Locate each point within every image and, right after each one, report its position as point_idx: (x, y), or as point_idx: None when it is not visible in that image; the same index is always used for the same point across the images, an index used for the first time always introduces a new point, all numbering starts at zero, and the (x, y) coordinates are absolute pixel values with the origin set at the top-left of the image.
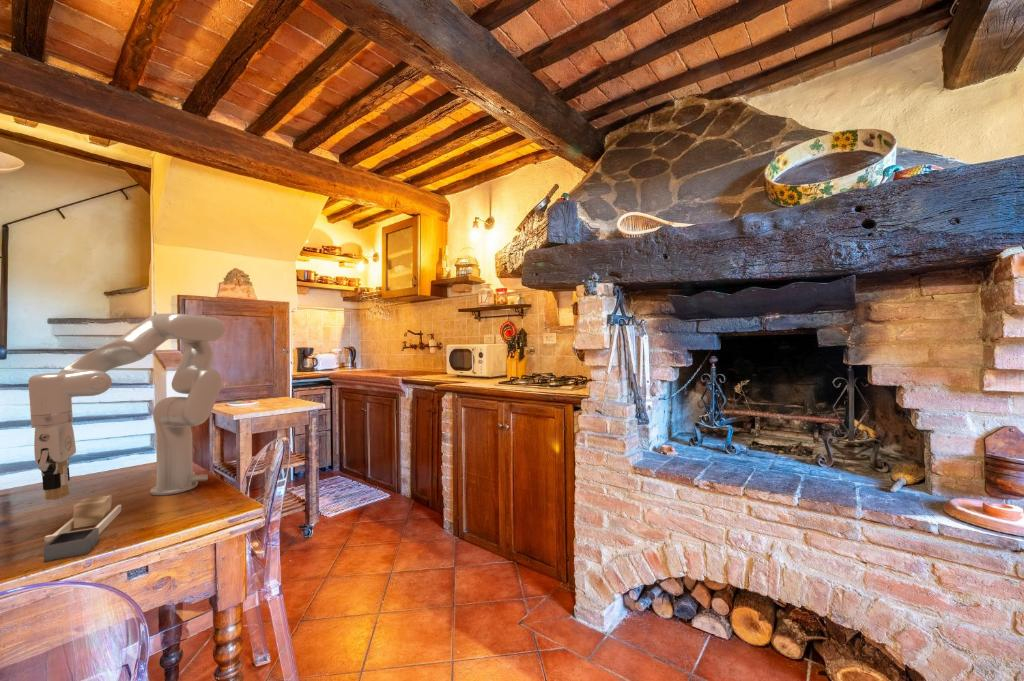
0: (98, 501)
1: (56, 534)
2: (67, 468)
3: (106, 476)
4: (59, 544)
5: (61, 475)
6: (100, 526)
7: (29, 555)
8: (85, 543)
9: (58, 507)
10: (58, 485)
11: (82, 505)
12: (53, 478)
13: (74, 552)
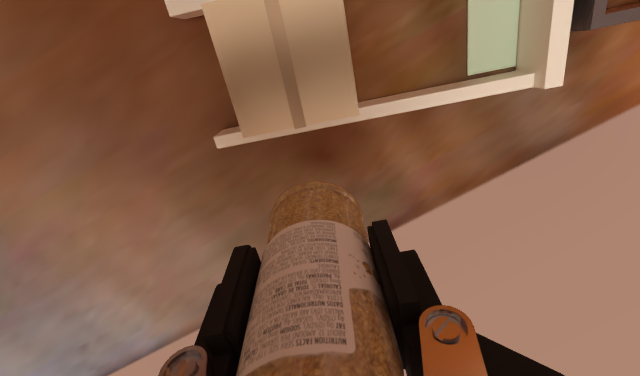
0: (313, 16)
1: (556, 52)
2: (223, 329)
3: None
4: None
5: (360, 282)
6: None
7: (560, 100)
8: None
9: (119, 266)
10: (391, 233)
11: (353, 78)
12: (435, 292)
13: None
